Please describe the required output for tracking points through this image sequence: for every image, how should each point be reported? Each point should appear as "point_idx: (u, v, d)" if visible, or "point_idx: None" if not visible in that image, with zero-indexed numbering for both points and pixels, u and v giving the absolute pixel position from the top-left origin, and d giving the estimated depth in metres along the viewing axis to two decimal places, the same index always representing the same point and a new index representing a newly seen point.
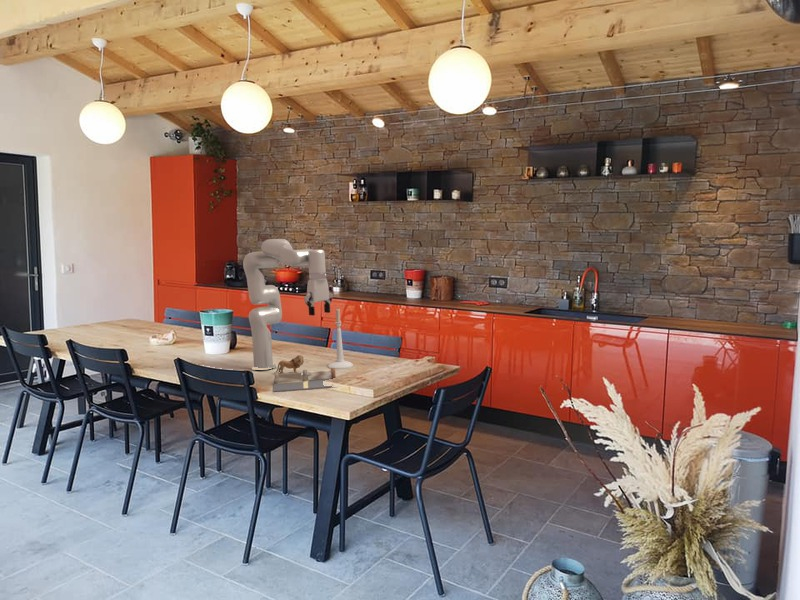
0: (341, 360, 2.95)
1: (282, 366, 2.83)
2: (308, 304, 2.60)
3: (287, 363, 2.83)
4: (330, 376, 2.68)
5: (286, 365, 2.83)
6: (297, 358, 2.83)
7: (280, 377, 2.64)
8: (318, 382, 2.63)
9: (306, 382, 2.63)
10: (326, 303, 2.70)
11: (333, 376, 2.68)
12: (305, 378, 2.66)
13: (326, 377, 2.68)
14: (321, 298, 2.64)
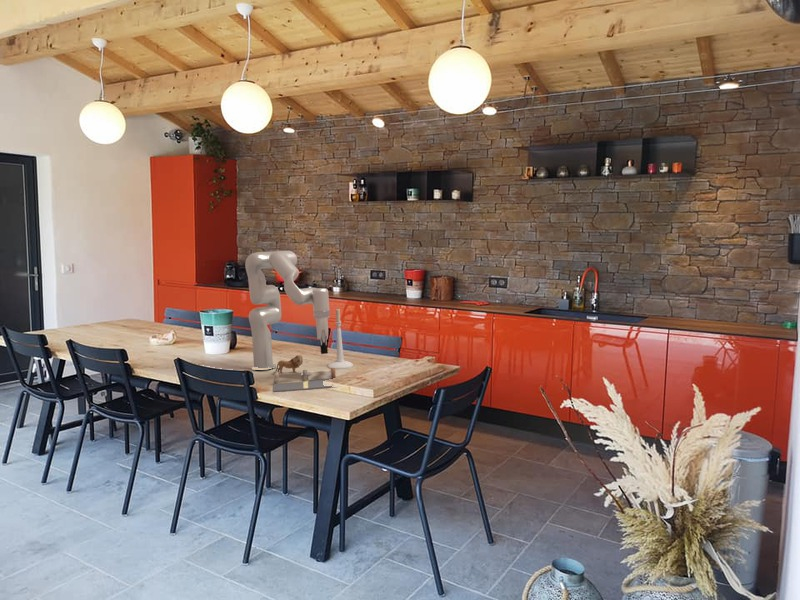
0: (341, 360, 2.95)
1: (281, 366, 2.83)
2: (324, 343, 2.70)
3: (286, 363, 2.83)
4: (330, 376, 2.68)
5: (285, 365, 2.83)
6: (296, 358, 2.83)
7: (280, 377, 2.64)
8: (318, 382, 2.63)
9: (306, 382, 2.63)
10: None
11: (333, 376, 2.68)
12: (305, 378, 2.66)
13: (326, 377, 2.68)
14: (327, 335, 2.72)
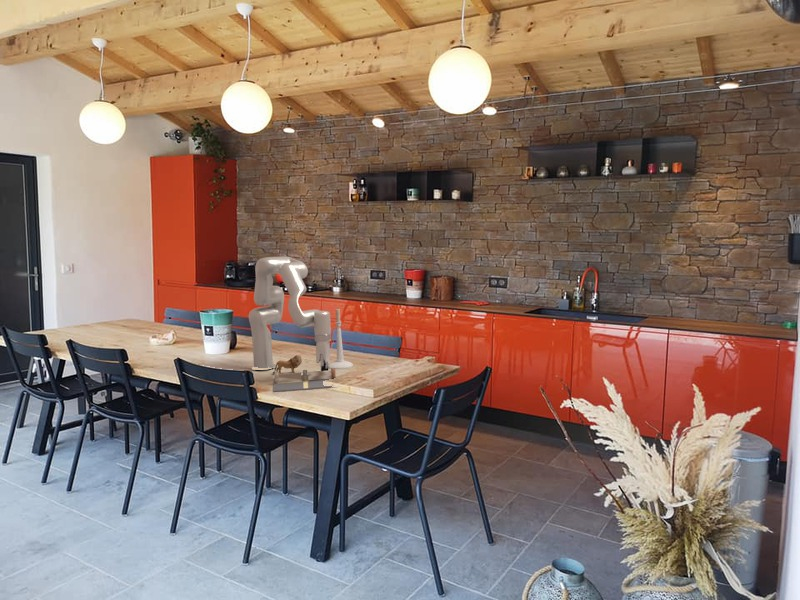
0: (341, 360, 2.95)
1: (280, 366, 2.83)
2: (324, 366, 2.67)
3: (285, 363, 2.83)
4: (330, 376, 2.67)
5: (284, 365, 2.83)
6: (295, 358, 2.83)
7: (280, 377, 2.64)
8: (318, 382, 2.63)
9: (306, 382, 2.63)
10: None
11: (333, 376, 2.67)
12: (305, 378, 2.66)
13: (326, 378, 2.67)
14: (328, 358, 2.69)
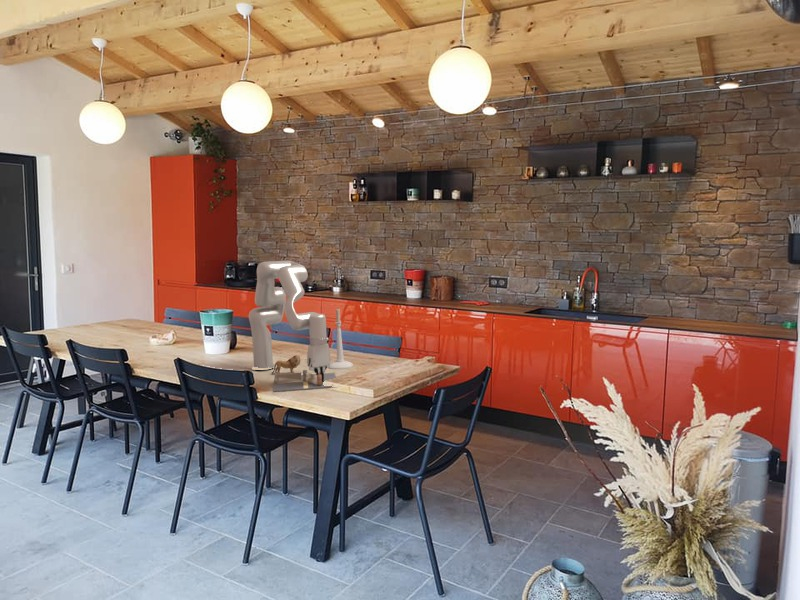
0: (341, 360, 2.95)
1: (279, 366, 2.83)
2: (315, 371, 2.59)
3: (284, 363, 2.83)
4: (317, 382, 2.57)
5: (283, 365, 2.83)
6: (294, 358, 2.83)
7: (280, 377, 2.64)
8: None
9: (306, 382, 2.63)
10: None
11: (317, 383, 2.56)
12: (305, 378, 2.66)
13: (315, 383, 2.59)
14: (321, 364, 2.59)
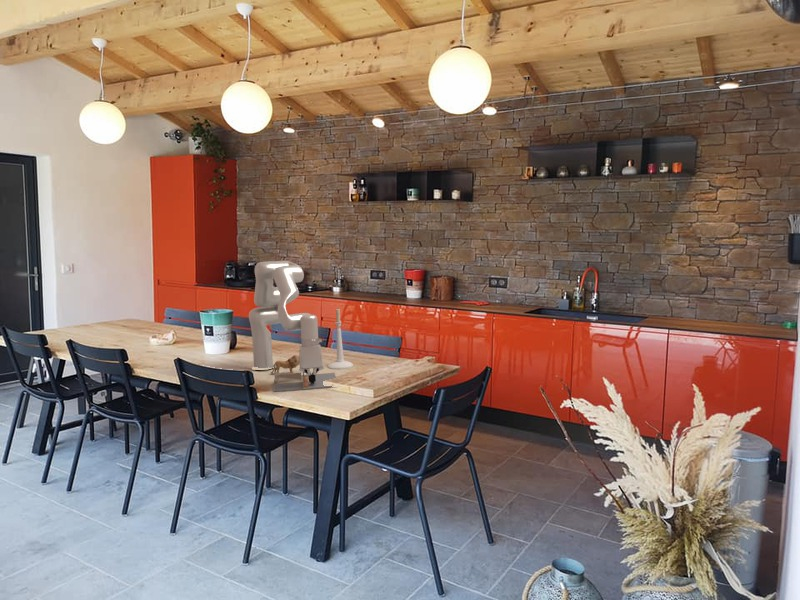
0: (341, 360, 2.95)
1: (278, 366, 2.83)
2: (305, 372, 2.57)
3: (283, 363, 2.83)
4: None
5: (282, 365, 2.83)
6: (293, 358, 2.83)
7: (280, 377, 2.64)
8: (318, 382, 2.63)
9: None
10: (312, 373, 2.58)
11: None
12: None
13: None
14: (310, 365, 2.56)
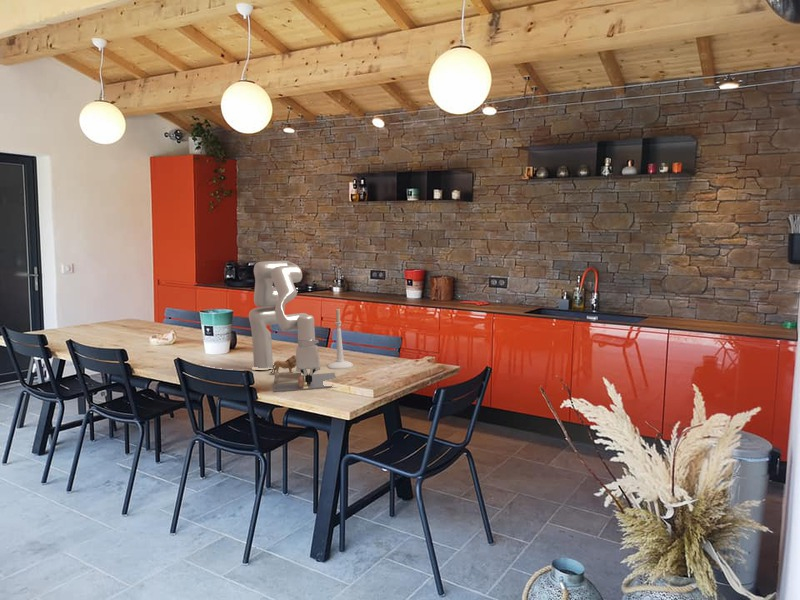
0: (341, 360, 2.95)
1: (277, 366, 2.83)
2: None
3: (282, 363, 2.83)
4: None
5: (281, 365, 2.83)
6: (293, 358, 2.83)
7: (280, 377, 2.64)
8: (318, 382, 2.63)
9: (306, 382, 2.63)
10: (309, 374, 2.58)
11: None
12: None
13: None
14: (306, 366, 2.55)
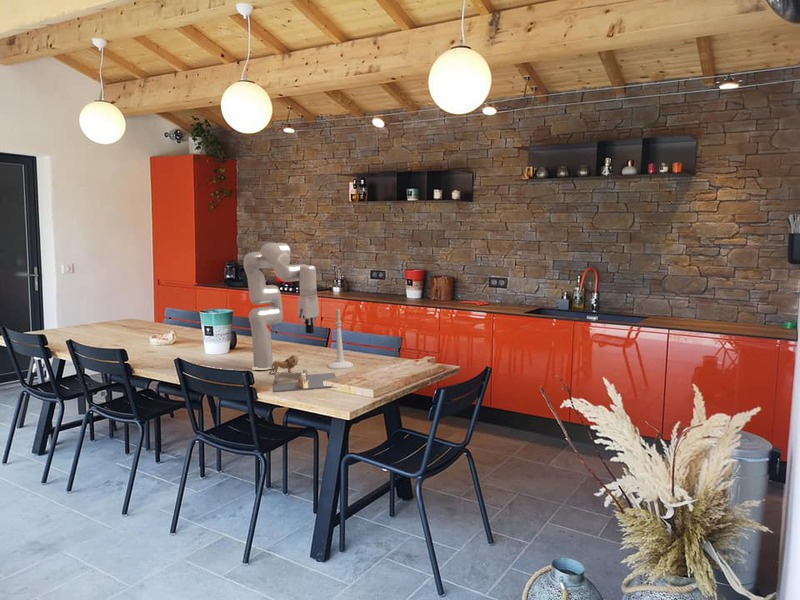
0: (341, 360, 2.95)
1: (276, 366, 2.83)
2: (306, 322, 2.61)
3: (281, 363, 2.83)
4: None
5: (280, 365, 2.83)
6: (291, 358, 2.83)
7: (280, 377, 2.64)
8: (318, 382, 2.63)
9: (306, 382, 2.63)
10: None
11: None
12: None
13: None
14: (312, 315, 2.61)
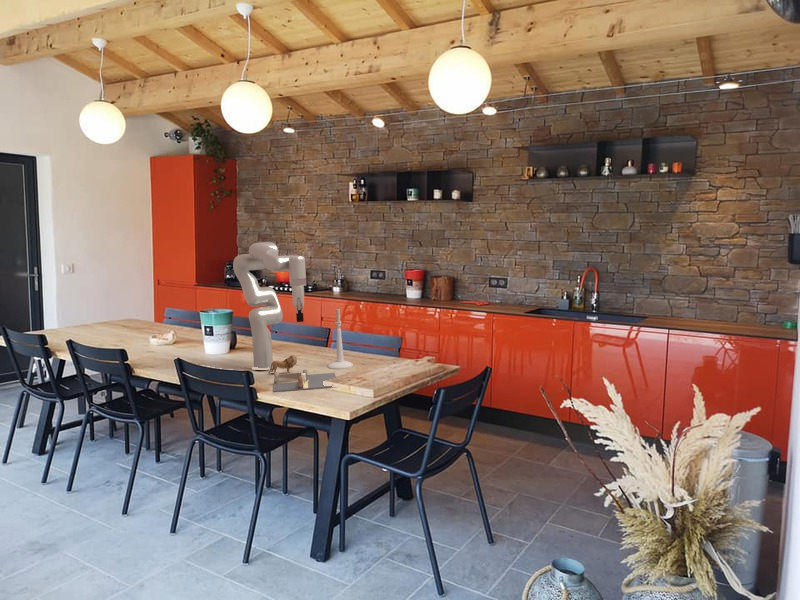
0: (341, 360, 2.95)
1: (275, 366, 2.83)
2: (300, 311, 2.69)
3: (280, 363, 2.83)
4: None
5: (279, 365, 2.83)
6: (290, 358, 2.83)
7: (280, 377, 2.64)
8: (318, 382, 2.63)
9: (306, 382, 2.63)
10: None
11: None
12: None
13: None
14: None
